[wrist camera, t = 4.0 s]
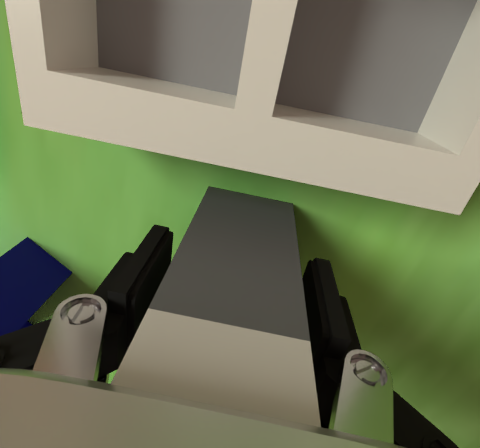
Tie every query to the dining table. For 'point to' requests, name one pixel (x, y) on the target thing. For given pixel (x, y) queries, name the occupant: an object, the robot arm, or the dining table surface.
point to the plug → (230, 315)
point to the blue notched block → (26, 283)
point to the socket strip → (267, 87)
